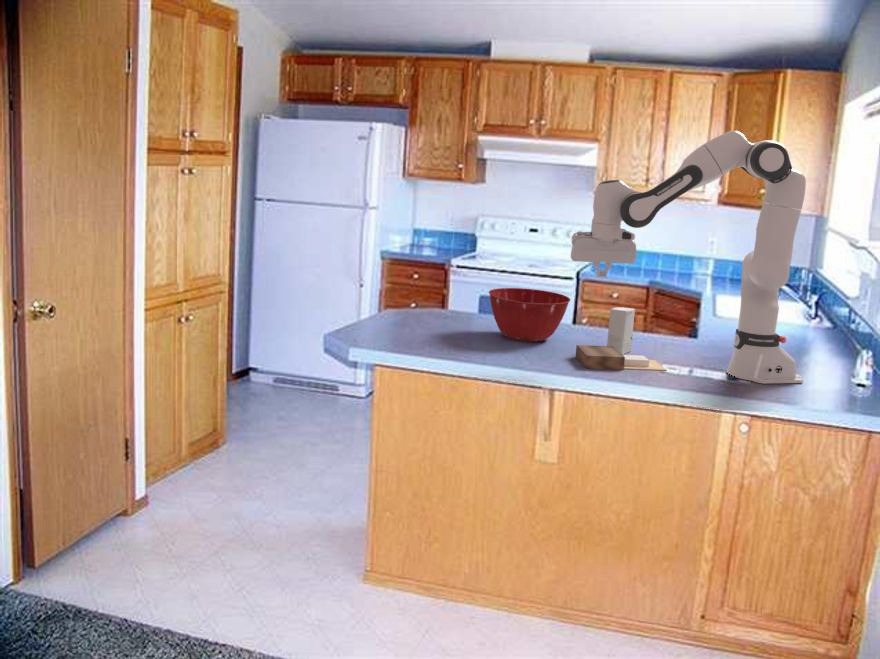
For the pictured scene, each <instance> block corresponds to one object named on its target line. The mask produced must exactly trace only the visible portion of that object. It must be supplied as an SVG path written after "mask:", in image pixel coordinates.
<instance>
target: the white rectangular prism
mask: <svg viewBox="0 0 880 659" xmlns="http://www.w3.org/2000/svg"><path fill="white" fill-rule="evenodd" d="M623 356H624V357H625V361H624V366H647V367H649V360H650V359H648V358H647V357H646V356H645V355H636V354H635V355H633V354H632V355H631V354H623Z"/></svg>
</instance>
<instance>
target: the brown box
mask: <svg viewBox="0 0 880 659" xmlns="http://www.w3.org/2000/svg"><path fill="white" fill-rule="evenodd" d="M623 355H624V354H623ZM623 355H622V354H621V353H620V352H619V351H617V350H616V349H615V348H614V347H612V346H607V345H586V344H585V345H584V344H576V347H575V358H576V359H577V360H578V362H579V363H580V364H581V365H582V366H583V367H584V368H585V369H594V370H596V369H597V370H598V369H601V370H619V371H621V370H623V371H624V370H625V369H624V361H625V357H624V356H623Z"/></svg>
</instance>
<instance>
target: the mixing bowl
mask: <svg viewBox="0 0 880 659" xmlns="http://www.w3.org/2000/svg"><path fill="white" fill-rule="evenodd" d="M488 294H489V299H490V305H491V311H492V313H493V314H492V315H493V318H494V320H495V323H496V326H497V328H498V330H499V331H500V332H501V333H502V334H503V335H504V336H505V337H506V338H507V339H510V340H512V341H517V342H522V341H523V342H522V343H524V342H525V343H538V342H537V341H541V342H543V340H544V341H545V340H547V339H549V338H551V336H552V335H553V334H554V333H555V332H556V330H557V329H558V328H559V326H560V324H561V322H562V320H563V318H564V316H565V313H566V311H567V308H568V306H569V302H571V298H570V297H569V296H567V295H564V294H561V293H557V292H553V291H547V290H541V289H534V288H520V287H503V288H502V287H501V288H492V289H490V290H489V291H488Z"/></svg>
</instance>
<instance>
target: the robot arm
mask: <svg viewBox="0 0 880 659" xmlns="http://www.w3.org/2000/svg"><path fill="white" fill-rule="evenodd" d="M737 168H740V169H742V170H743V171H744V172H745V173H746V174H748V175H749V176H751V177H753V178H756V179H762V180H764V183H765V186H766V189H765V195H764V198H763V201H762V202H763V203H762V205H761V210H760V213H759V217H758V219H757V223H756V228H755V240H754V241H755V242H754V249H753V250H752V251H749V253H747V255H745V256H744V259H742V263H741V264H742V265H741V266H742V267H741V282H740V307H739V308H740V309H739V310H740V311H739V316H738V323H737V328H736V329H735V333H734V341H733V347H734V349H733V351H732V356H731V359H730V362H729V365H728V367H727V369H726V371H725V372H727V373H728V374H727V375H729V374H730V375H729V376H731V375H732V376H731V377H734V376H735V377H734V378H737V379H741V380H746V381H750V382H755V383H758V384H765V385H766V384H798V383H799V384H803V382H804V380H803V377H802V376H801V375H799V374H797V365H796V361H795V359H794V358H793V357H792V356H791V355H790V354H789V353H788V352H787V351H786V350H784V349H783V347H782V346H780V343H782V344H786V343H787V341H788V340H787V337H786V336H783V335H779V334H777V332H776V330H777V326H778V325H777V324H778V316H779V312H780V311H779V310H780V309H779V308H780V307H779V289H781V288H782V287H784V286H785V285H786V284H787V283H788V281H789V280H790V277H791V276H790V274H791V273H790V272H791V270H790V269H791V264H792V255H793V248H794V240H795V235H796V231H797V228H798V224H799V220H800V216H801V212H802V209H803V206H804V205H803V204H804V200H805V194H806V185H807V180H806V177H805V175H804V174H803V173H802V172H801V171H799V170H797V169H795V168H793V167H792V164H791V160H790V156H789V153H788V150H787V148H786V147H785V146H784V145H783V144H782V143H780V142H778V141H775V140H766V139H765V140H760V141H756V142H750V141H749V140H748V139H747V138H746V136H745V135H744V134H743V133H741V132H740V131H738V130H730V131H726V132H724V133H722V134H719V135H717V136H716V137H714V138H712V139H710V140H708V141H707V142H705V143H703V144H702V145H700V146H699V147H697V148H696V149H695V150H693V151H692V152H690V154H689V155H687V156H686V157H685V158H684V159H683V161H682V163H681V165H680V167H679V168H678V169H677V170H676V171H675V172H674V174H672V175H671V176H669V177H668V178H666V179H665V180H663V181H662V182H660V183H659V184H657V185H656V186H654V187H653V188H651V189H649V190H647V191H644V192H641V191H639V190H636V189H634V188H633V187H630V186H629V185H627V184H626V183H624V182H623V181H622V180H621V179H610V180H605V181H601V182H600V183H598V184H597V185H596V187H595V191H594V196H593V205H592V206H593V207H592V209H593V218H592V219H591V227H590V228H591V229H590V231H581V230H580V231H576V232H574V233H573V234H572V236H571V245H572V246H571V250H570V259H571V260H572V261H573V262H578V263H579V262H581V263H582V262H583V263H593V267H594V269H595V270H596V274H595V275H596V277H597V278H607V276H608V272H609V270H610V269H611V268H612V264H630V265H633V264H635V262H636V261H637V244H636V243H635V241H634V240H635V239H636V235H635V233H633V232H631V231H629V230H627V229H626V228H621V223H622V222H623V223H625V224H626V226H628V227H630V228H634V229H635V228H636V229H641V228H644V227H646V226H647V225H649V224H650V223H651V222H652V221H653V220H654V218H656V215H657V214H658V212H659V211H661V209H662V208H664V207H665V206H667V205H669V204H670V203H673V201H674V200H676V199H677V198H680V196H683V195H684V194H686V193H687V192H690V191H692V190H694V189H698V188H700V187H702V186H706V185H708V184H710V183H712V182H715V181H716V180H717V179H720V178H722V177H723V176H724V175H726V174H728V173H729V172H730V171H732V170H735V169H737ZM601 263H605V264H604V265H605V268H604V269H603V270H600V266H601Z"/></svg>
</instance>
